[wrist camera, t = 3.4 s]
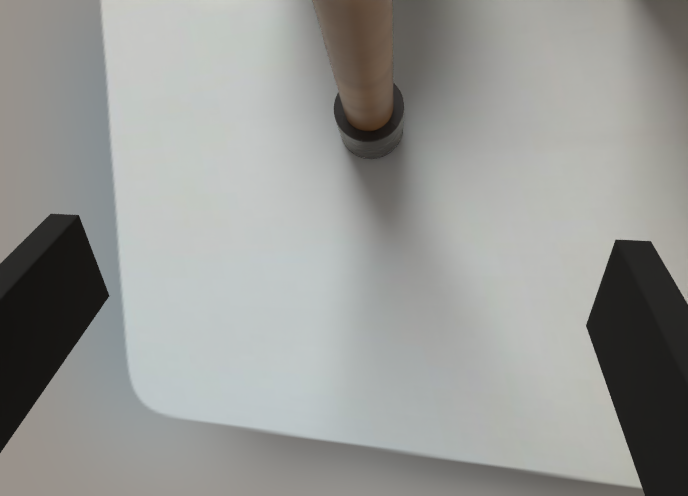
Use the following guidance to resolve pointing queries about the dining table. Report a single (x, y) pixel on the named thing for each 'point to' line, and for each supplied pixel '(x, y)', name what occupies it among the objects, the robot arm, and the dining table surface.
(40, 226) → the robot arm
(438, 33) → the dining table surface
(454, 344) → the dining table surface
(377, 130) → the brush
